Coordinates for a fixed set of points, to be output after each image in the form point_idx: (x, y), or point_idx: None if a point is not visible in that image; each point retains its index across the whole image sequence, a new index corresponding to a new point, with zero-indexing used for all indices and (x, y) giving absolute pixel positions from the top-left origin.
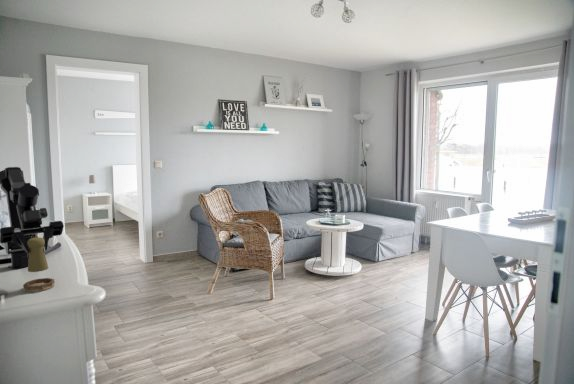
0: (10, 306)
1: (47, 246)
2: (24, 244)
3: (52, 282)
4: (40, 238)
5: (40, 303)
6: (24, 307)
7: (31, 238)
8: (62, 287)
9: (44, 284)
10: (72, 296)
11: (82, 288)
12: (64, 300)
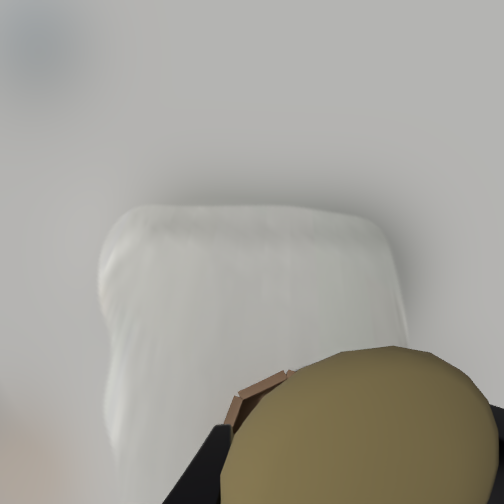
0: (377, 257)
1: (202, 446)
2: (498, 412)
3: (230, 407)
4: (307, 451)
5: (289, 231)
6: (334, 224)
7: (471, 496)
8: (195, 376)
9: (269, 378)
10: (188, 238)
11: (135, 305)
12: (218, 217)
